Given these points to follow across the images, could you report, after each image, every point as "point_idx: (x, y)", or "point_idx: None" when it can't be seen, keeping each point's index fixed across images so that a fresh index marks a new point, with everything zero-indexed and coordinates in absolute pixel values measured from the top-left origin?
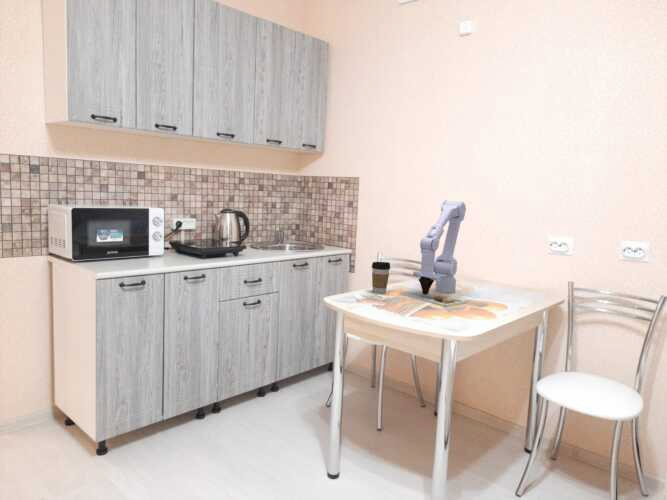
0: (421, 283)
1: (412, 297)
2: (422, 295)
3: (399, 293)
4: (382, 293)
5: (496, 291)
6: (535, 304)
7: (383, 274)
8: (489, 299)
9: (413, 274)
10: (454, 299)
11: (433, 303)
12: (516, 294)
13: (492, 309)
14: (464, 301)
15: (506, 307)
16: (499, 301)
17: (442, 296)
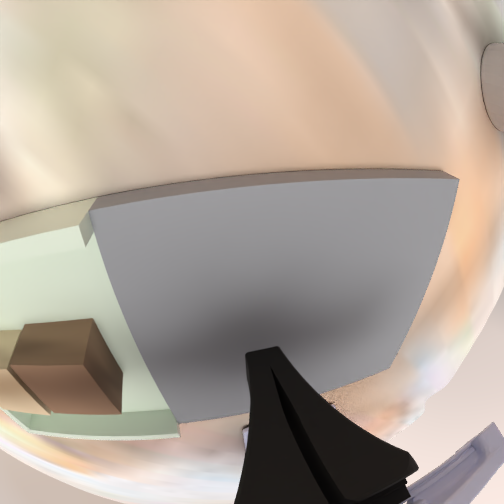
0: (341, 442)
1: (297, 193)
2: (300, 343)
3: (453, 195)
4: (497, 64)
5: (231, 493)
6: (91, 490)
7: None
8: (151, 480)
9: (495, 433)
10: (9, 409)
11: None
12: (190, 500)
13: (6, 430)
14: (18, 424)
15: (46, 460)
16: (123, 481)
17: (94, 414)
